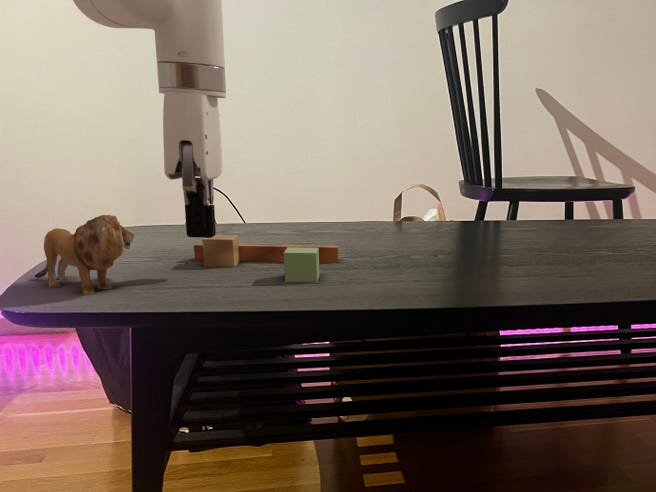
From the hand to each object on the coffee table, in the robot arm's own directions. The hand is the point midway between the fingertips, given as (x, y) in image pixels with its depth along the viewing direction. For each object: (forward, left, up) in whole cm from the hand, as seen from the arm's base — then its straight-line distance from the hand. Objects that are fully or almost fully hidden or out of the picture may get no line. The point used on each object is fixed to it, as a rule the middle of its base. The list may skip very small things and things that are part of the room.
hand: (201, 236), depth 89 cm
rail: (+7, +10, -5) cm, 13 cm away
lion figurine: (-12, -7, -6) cm, 15 cm away
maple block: (+1, +8, -5) cm, 9 cm away
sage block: (+13, -2, -5) cm, 14 cm away
